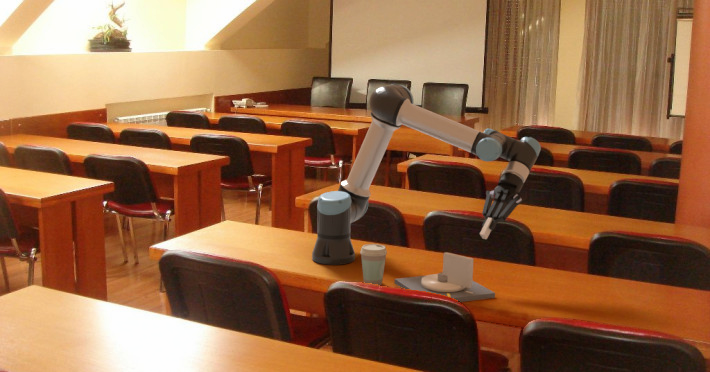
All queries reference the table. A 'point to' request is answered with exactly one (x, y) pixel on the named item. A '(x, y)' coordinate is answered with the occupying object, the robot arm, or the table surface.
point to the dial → (451, 275)
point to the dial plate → (464, 295)
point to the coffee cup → (373, 263)
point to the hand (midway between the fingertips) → (483, 236)
